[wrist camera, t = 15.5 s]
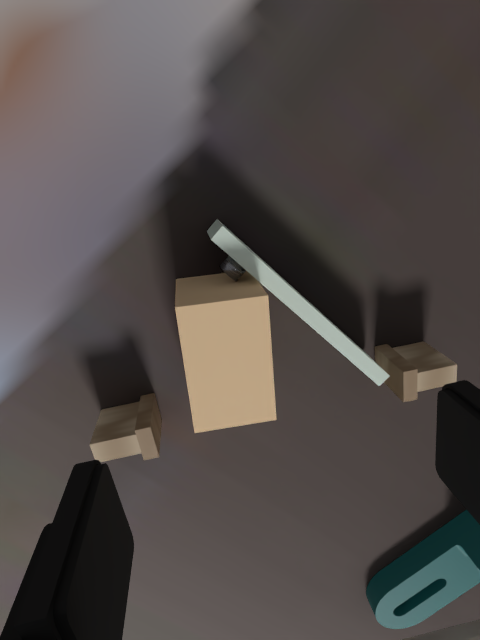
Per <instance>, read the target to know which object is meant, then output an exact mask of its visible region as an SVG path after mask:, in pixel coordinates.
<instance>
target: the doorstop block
mask: <svg viewBox="0 0 480 640" xmlns="http://www.w3.org/2000/svg"><path fill="white" fill-rule="evenodd" d="M175 311H176V317H177V323H178V330H179V336H180V342H181V349H182V355H183V361H184V368H185V374H186V380H187V387H188V393H189V399H190V406H191V412H192V418H193V425H194V431H195V433H198V432H205V431H211V430H217V429H223V428H229V427H235V426H241V425H247V424H254V423H260V422H266V421H272V420H276V407H275V392H274V377H273V362H272V347H271V332H270V317H269V301H268V295H267V293H266V292H265V290H264V289H263V288H262V286H261V285H260V283H259V282H258V281H257V279H256V278H254V277H253V276H252V275H251V274H250V273H249V272H248V271H245V272H244V274H243V275H242V276H241V277H240V278H239V279H238V280H237V281H234V280H233V279H232V278H230V277H229V276H228V275H227V274H226V273H221V274H213V275H204V276H196V277H188V278H180V279H176V293H175Z"/></svg>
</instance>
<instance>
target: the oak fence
mask: <svg viewBox="0 0 480 640" xmlns="http://www.w3.org/2000/svg"><path fill="white" fill-rule="evenodd" d="M375 362H376V363H377V364H378V365H379V366H380V367H381V368H382V369H383V370H384V371H385V372H386V373H387V374H388V375H389V377H388V378H387V379H386V380H385V381H384V383H385V384H386V385H387V386H388V387H389V388H390V389H391V390H392V391H393V392H394V393H395V394H396V395H397V396H398V397H399V398H400V399H401V400H402V401H403V402H407V401H412V400H416V399H417V392H419V391H424V390H428V389H433V388H437V387H442V386H444V385H445V384H449V383H454V382H456V377H457V364H456V363H454V362H453V361H451V360H450V359H448V358H447V357H446V356H444V355H443V354H441V353H440V352H438V351H437V350H435V349H434V348H432V347H431V346H430V345H428V344H427V343H425V342H424V341H423V342H418V343H414V344H409V345H404V346H399V347H395V348H391V347H390V346H389V345H388V344H384V345H379V346H375ZM161 423H162V419H161V415H160V412H159V408H158V404H157V401H156V397H155V394H154V393H151V394H147V395H142V396H141V397H140V402H135V403H130V404H125V405H121V406H116V407H111V408H107V409H102V410H101V412H100V415H99V418H98V421H97V424H96V427H95V430H94V433H93V436H92V439H91V442H90V447H91V450H92V452H93V455H94V458H95V460H99V461H100V462H104V461H108V460H113V459H117V458H122V457H126V456H131V455H135V454H140V453H142V456H143V459H144V460H148V459H152V458H157V457H159V451H160V437H161Z"/></svg>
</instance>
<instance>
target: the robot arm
mask: <svg viewBox="0 0 480 640" xmlns="http://www.w3.org/2000/svg"><path fill="white" fill-rule="evenodd" d="M435 465H436V470H437V473H438V475H439V477H440V478H441V480H442V481H443V482H444V483H445V484H446V486H447V487H448V488H449V489H450V490H451V492H452V493H453V494H454V495H455V496H456V497H457V499H458V500H459V501H460V502H461V503H462V505H463V506H464V507H465V508H466V509H467V510H468V512H469V513H470V514H471V515H472V516H473V518H474V519H475V520H476V521H477V522H478V523H479V525H480V389H478V388H477V387H475V386H474V385H473V384H471V383H470V382H468V381H465V380H463V381H458V382H454V383H449V384H445V385H444V386H443V388H442V391H439V393H438V399H437V431H436V462H435ZM133 552H134V541H133V536H132V533H131V530H130V527H129V524H128V521H127V518H126V515H125V513H124V510H123V507H122V504H121V501H120V498H119V496H118V493H117V490H116V487H115V484H114V481H113V479H112V476H111V473H110V470H109V467H108V465H107V464H101V463H100V461H99V460H93V461H88V462H83V463H79V464H76V465H75V466H74V467H73V470H72V472H71V475H70V478H69V480H68V483H67V486H66V488H65V491H64V494H63V496H62V499H61V502H60V504H59V507H58V510H57V512H56V515H55V518H54V520H53V523H51V524H47V525H46V526H45V527H44V529H43V531H42V533H41V535H40V538H39V540H38V543H37V545H36V548H35V550H34V553H33V555H32V558H31V560H30V563H29V565H28V568H27V571H26V573H25V576H24V578H23V581H22V583H21V586H20V588H19V591H18V593H17V596H16V598H15V601H14V603H13V606H12V608H11V611H10V613H9V616H8V618H7V621H6V624H5V626H4V629H3V631H2V634H1V636H0V640H122V635H123V628H124V620H125V612H126V605H127V597H128V590H129V582H130V575H131V567H132V559H133ZM402 640H480V620H476V621H472V622H468V623H464V624H460V625H456V626H452V627H448V628H444V629H441V630H437V631H433V632H429V633H425V634H421V635H418V636H414V637H410V638H406V639H402Z"/></svg>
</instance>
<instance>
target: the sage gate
mask: <svg viewBox="0 0 480 640" xmlns="http://www.w3.org/2000/svg"><path fill="white" fill-rule="evenodd" d="M207 233H208V235H209V237H210V239H211V240H212V241H213V242H214V243H215V244H217V245H218V246H219V247H220V248H221V249H222V250H223V251H225V252H226V253H227V254H228V255H229V256H228V257H227V258H226V259H225V260H224V262H223V263H222V264H221V265H220V266H219V267H220V268H221V269H222V270H223V271H224V272H225V273H226V274H227V275H228V276H229V277H230V278H232V279H233V280H234V281H237V280H238V279H239V278H240V277H241V276H242V275H243V274H244V272H245V271H248V272H249V273H250V274H251V275H252V276H253V277H254V278H256V279H257V280H258V281H259V282H260V283H261V284H262V285H264V286H265V287H266V288H267V289H268V290H269V291H270V292H272V293H273V294H274V295H275V296H276V297H277V298H278V299H280V300H281V301H282V302H283V303H284V304H285V305H287V306H288V307H289V308H290V309H291V310H292V311H293V312H295V313H296V314H297V315H298V316H299V317H300V318H301V319H303V320H304V321H305V322H306V323H307V324H308V325H309V326H311V327H312V328H313V329H314V330H315V331H316V332H318V333H319V334H320V335H321V336H322V337H323V338H324V339H326V340H327V341H328V342H329V343H330V344H331V345H332V346H334V347H335V348H336V349H337V350H338V351H339V352H340V353H342V354H343V355H344V356H345V357H346V358H347V359H349V360H350V361H351V362H352V363H353V364H354V365H355V366H357V367H358V368H359V369H360V370H361V371H362V372H363V373H365V374H366V375H367V376H368V377H369V378H370V379H371V380H373V381H374V382H375V383H376V384H377V385H378V386H380V385H381V384H382V383H383V382H384V381H385V380H386V379H387V378H388V377H389V375H388V374H387V373H386V372H385V371H384V370H383V369H382V368H381V367H380V366H379V365H378V364H377V363H376V362H375V361H374V360H373V359H372V358H371V357H370V356H369V355H368V354H367V353H365V352H364V351H363V350H362V349H361V348H360V347H359V346H358V345H357V344H355V343H354V342H353V341H352V340H351V339H350V338H349V337H348V336H347V335H345V334H344V333H343V332H342V331H341V330H340V329H339V328H338V327H337V326H335V325H334V324H333V323H332V322H331V321H330V320H329V319H328V318H327V317H325V316H324V315H323V314H322V313H321V312H320V311H319V310H318V309H317V308H315V307H314V306H313V305H312V304H311V303H310V302H309V301H308V300H307V299H305V298H304V297H303V296H302V295H301V294H300V293H299V292H298V291H297V290H295V289H294V288H293V287H292V286H291V285H290V284H289V283H288V282H287V281H285V280H284V279H283V278H282V277H281V276H280V275H279V274H278V273H277V272H275V271H274V270H273V269H272V268H271V267H270V266H269V265H268V264H267V263H265V262H264V261H263V260H262V259H261V258H260V257H259V256H258V255H257V254H255V253H254V252H253V251H252V250H251V249H250V248H249V247H248V246H247V245H246V244H244V243H243V242H242V241H241V240H240V239H239V238H238V237H237V236H236V235H234V234H233V233H232V232H231V231H230V230H229V229H228V228H227V227H226V226H224V225H223V224H222V223H221V222H220V221H219V220H218V219H216V221H215V222H214V223H213V224H212V225H211V227H210V228H209V229H208V230H207Z"/></svg>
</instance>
